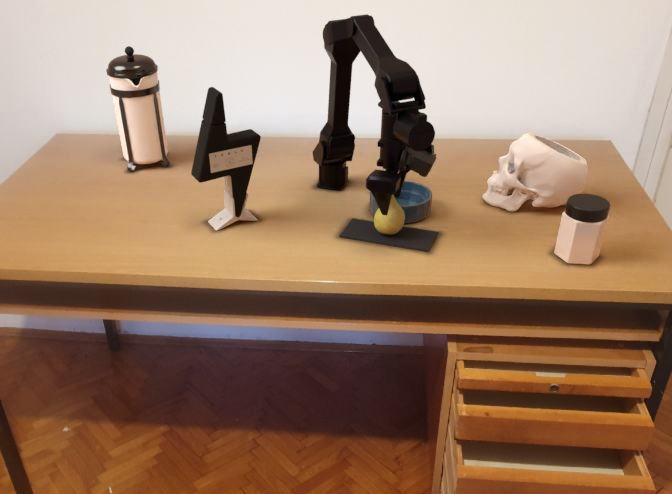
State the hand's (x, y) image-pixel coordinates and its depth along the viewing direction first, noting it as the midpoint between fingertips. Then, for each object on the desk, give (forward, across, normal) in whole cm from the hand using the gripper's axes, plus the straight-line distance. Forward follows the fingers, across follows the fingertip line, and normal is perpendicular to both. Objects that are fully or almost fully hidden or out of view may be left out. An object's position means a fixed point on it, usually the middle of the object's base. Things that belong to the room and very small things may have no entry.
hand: (390, 205), depth 150 cm
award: (+7, -6, +36) cm, 37 cm away
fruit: (+7, 0, 0) cm, 7 cm away
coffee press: (+7, +20, +75) cm, 78 cm away
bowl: (+7, +12, +1) cm, 14 cm away
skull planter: (+7, +26, -27) cm, 38 cm away
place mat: (+7, 0, 0) cm, 7 cm away
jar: (+7, +5, -39) cm, 40 cm away
